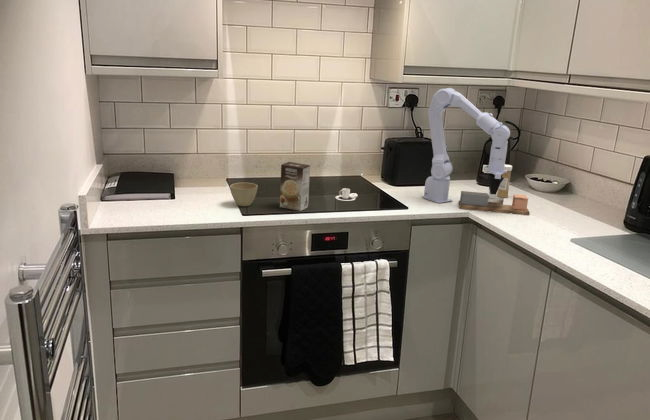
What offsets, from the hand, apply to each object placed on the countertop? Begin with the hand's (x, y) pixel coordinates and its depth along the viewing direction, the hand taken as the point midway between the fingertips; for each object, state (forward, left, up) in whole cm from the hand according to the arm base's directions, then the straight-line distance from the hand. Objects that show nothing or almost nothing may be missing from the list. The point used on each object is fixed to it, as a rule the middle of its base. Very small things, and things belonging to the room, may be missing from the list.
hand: (492, 193), depth 205 cm
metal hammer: (-2, -2, -4) cm, 5 cm away
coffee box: (-35, -67, -6) cm, 76 cm away
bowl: (-46, -82, -6) cm, 95 cm away
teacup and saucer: (-34, -41, -7) cm, 54 cm away
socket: (+7, +7, -5) cm, 12 cm away
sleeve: (-5, -5, -5) cm, 8 cm away
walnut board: (+1, +1, -6) cm, 6 cm away
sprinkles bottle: (-10, +21, -6) cm, 24 cm away
